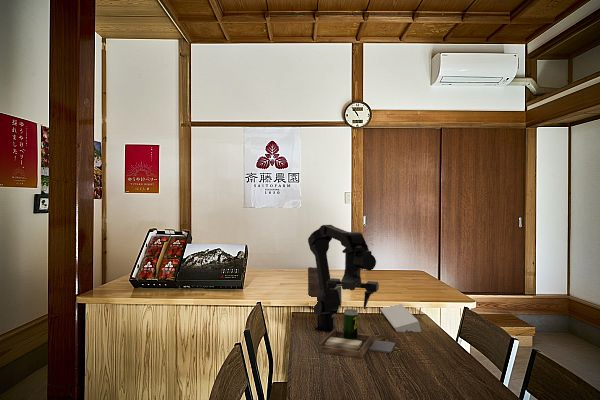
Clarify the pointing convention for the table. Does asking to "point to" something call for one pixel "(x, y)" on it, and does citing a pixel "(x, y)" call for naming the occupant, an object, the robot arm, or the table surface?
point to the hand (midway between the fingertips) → (352, 307)
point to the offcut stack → (343, 343)
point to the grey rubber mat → (382, 346)
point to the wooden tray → (345, 352)
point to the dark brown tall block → (313, 282)
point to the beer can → (351, 324)
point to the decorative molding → (401, 318)
